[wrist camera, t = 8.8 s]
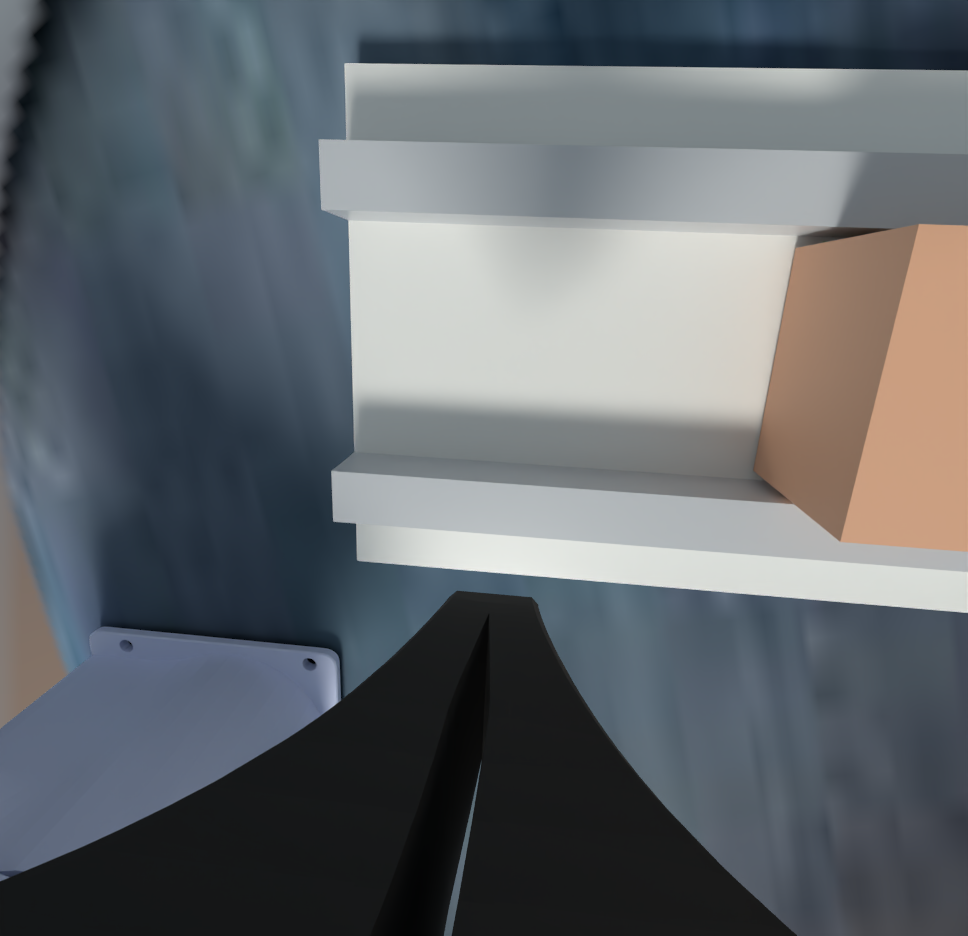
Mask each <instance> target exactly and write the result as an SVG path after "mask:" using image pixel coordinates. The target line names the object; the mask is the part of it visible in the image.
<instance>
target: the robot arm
mask: <svg viewBox="0 0 968 936" xmlns="http://www.w3.org/2000/svg"><path fill="white" fill-rule="evenodd" d="M128 641H129V642H131V643H132V645H131V644H130V643H129V642H128ZM89 642H90V648H91V653H92V656H91V657H90V658H88V659H87V660H86V661H85V662H83V663H82V664H81V665H80V666H78V667H77V668H76V669H75V670H73V671H72V672H71V673H70V674H68V675H67V676H66V677H64V678H63V679H62V680H61V681H59V682H58V683H57V684H56V685H54V686H53V687H52V688H51V689H49V690H48V691H47V692H46V693H44V694H43V695H42V696H41V697H39V698H38V699H37V700H36V701H34V702H33V703H32V704H31V705H29V706H28V707H27V708H26V709H24V710H23V711H22V712H21V713H19V714H18V715H17V716H16V717H14V718H13V719H12V720H10V721H9V722H8V723H7V724H5V725H4V726H3V727H2V728H1V729H0V936H444V931H445V925H446V920H447V914H448V909H449V904H450V900H451V895H452V891H453V886H454V882H455V877H456V873H457V868H458V864H459V859H460V855H461V850H462V846H463V841H464V837H465V832H466V828H467V823H468V819H469V814H470V810H471V805H472V801H473V796H474V792H475V787H476V783H477V778H478V773H479V769H480V764H481V770H480V776H479V782H478V788H477V795H476V801H475V807H474V813H473V819H472V825H471V831H470V837H469V842H468V848H467V854H466V860H465V865H464V871H463V877H462V883H461V888H460V894H459V900H458V905H457V910H456V916H455V921H454V926H453V932H452V936H797V935H796V934H795V933H794V932H792V931H791V930H790V929H789V928H788V927H787V926H786V925H785V924H784V923H782V922H781V921H780V920H779V919H778V918H777V917H776V916H775V915H774V914H773V913H772V912H771V911H769V910H768V909H767V908H766V907H765V906H764V905H763V904H762V903H761V902H760V901H759V900H758V899H756V898H755V897H754V896H753V895H752V894H751V893H750V892H749V891H748V890H747V889H746V888H745V887H743V886H742V885H741V884H740V883H739V882H738V881H737V880H736V879H735V878H734V877H733V876H732V875H731V874H730V873H729V872H728V871H726V870H725V869H724V868H723V867H722V866H721V865H720V864H719V863H718V862H717V860H716V859H715V858H714V857H713V856H712V855H711V854H710V853H709V852H708V851H707V850H706V849H705V848H704V847H703V846H702V845H701V844H700V843H699V842H698V841H697V840H696V839H695V838H694V837H693V836H692V834H691V833H690V832H689V831H688V830H687V829H686V828H685V827H684V826H683V825H682V824H681V823H680V822H679V821H678V820H677V819H676V818H675V817H674V816H673V815H672V814H671V813H670V812H669V811H668V809H667V808H666V807H665V806H664V805H663V804H662V803H661V801H660V800H659V799H658V798H657V797H656V796H655V794H654V793H653V792H652V791H651V790H650V788H649V787H648V786H647V785H646V784H645V783H644V781H643V780H642V779H641V778H640V777H639V775H638V774H637V773H636V772H635V770H634V769H633V768H632V767H631V765H630V764H629V763H628V762H627V760H626V759H625V758H624V756H623V755H622V754H621V753H620V751H619V750H618V749H617V747H616V746H615V745H614V743H613V742H612V741H611V739H610V738H609V736H608V735H607V734H606V732H605V731H604V729H603V728H602V726H601V725H600V724H599V722H598V721H597V719H596V718H595V716H594V715H593V713H592V712H591V710H590V708H589V707H588V705H587V704H586V702H585V701H584V699H583V698H582V696H581V694H580V693H579V691H578V689H577V688H576V686H575V685H574V683H573V681H572V679H571V677H570V676H569V674H568V672H567V670H566V668H565V667H564V665H563V663H562V661H561V659H560V658H559V656H558V654H557V652H556V650H555V648H554V646H553V644H552V641H551V639H550V637H549V635H548V633H547V630H546V628H545V626H544V623H543V621H542V618H541V615H540V612H539V608H538V604H537V603H536V602H535V601H534V600H533V598H532V597H521V596H510V595H499V594H487V593H476V592H464V591H456V592H455V593H454V594H453V595H451V596H450V597H449V598H448V599H447V601H446V602H445V603H444V604H443V605H442V606H441V607H440V609H439V610H438V611H437V612H436V613H435V614H434V615H433V616H432V617H431V618H430V619H429V621H428V622H427V623H426V624H425V625H424V626H423V627H422V628H421V629H420V630H419V631H418V632H417V633H416V634H415V635H414V636H413V637H412V638H411V639H410V640H409V641H408V642H407V643H406V644H405V645H404V646H403V647H402V648H401V649H400V650H399V651H398V652H397V653H396V654H395V655H394V656H392V657H391V658H390V659H389V660H388V661H387V662H386V663H385V664H384V665H382V666H381V667H380V668H379V669H378V670H377V671H375V672H374V673H373V674H372V675H371V676H370V677H368V678H367V679H366V680H365V681H364V682H363V683H361V684H360V685H359V686H358V687H357V688H356V689H354V690H353V691H352V692H351V693H350V694H348V695H347V696H346V697H345V698H343V699H342V700H341V686H340V661H339V657H338V655H337V654H336V653H335V652H334V651H332V650H331V649H327V648H319V647H309V646H299V645H288V644H278V643H268V642H258V641H248V640H238V639H227V638H217V637H207V636H197V635H187V634H177V633H166V632H156V631H146V630H136V629H126V628H115V627H100V628H99V629H97V630H96V631H94V632H93V633H92V634H91V635H90V637H89ZM307 658H310V659H313V660H314V661H315V662H316V664H312V663H310V662H309V661H308V660H307ZM481 759H482V762H481Z"/></svg>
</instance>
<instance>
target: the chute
mask: <svg viewBox="0 0 968 936" xmlns="http://www.w3.org/2000/svg"><path fill="white" fill-rule="evenodd" d="M345 101H346V140H322V139H319V160H320V186H321V210H324V211H326V212H329V213H331V214H334V215H336V216H339V217H341V218H344V219H346V220H349V260H350V299H351V339H352V379H353V418H354V453H353V454H351V455H350V456H349V457H348V458H347V459H345V460H344V461H343V462H342V463H340V464H339V465H338V466H337V467H336V468H334V469H333V470H332V471H331V476H332V502H333V522H344V523H356V538H357V561H365V562H376V563H388V564H400V565H412V566H424V567H435V568H447V569H459V570H471V571H482V572H494V573H506V574H518V575H529V576H541V577H553V578H565V579H577V580H588V581H600V582H612V583H624V584H635V585H647V586H659V587H671V588H683V589H694V590H706V591H718V592H730V593H741V594H753V595H765V596H777V597H789V598H800V599H812V600H824V601H836V602H847V603H859V604H871V605H883V606H894V607H906V608H918V609H930V610H942V611H953V612H965V613H968V552H963V551H950V550H937V549H924V548H911V547H898V546H885V545H872V544H859V543H846V542H840V541H838V540H837V539H836V538H835V537H833V536H832V535H831V534H830V533H829V532H827V531H826V530H825V529H824V528H823V527H821V526H820V525H819V524H818V523H816V522H815V521H814V520H813V519H812V518H810V517H809V516H808V515H807V514H805V513H804V512H803V511H802V510H801V509H799V508H798V507H797V506H796V505H795V504H793V503H792V502H791V501H790V500H788V499H787V498H786V497H785V496H784V495H782V494H781V493H780V492H779V491H777V490H776V489H775V488H774V487H773V486H771V485H770V484H769V483H768V482H766V481H765V480H764V479H763V478H762V477H760V476H759V475H758V474H757V473H756V472H754V471H753V469H754V464H755V458H756V453H757V448H758V443H759V437H760V432H761V427H762V422H763V416H764V411H765V406H766V401H767V395H768V390H769V385H770V380H771V375H772V369H773V364H774V359H775V354H776V348H777V343H778V338H779V333H780V327H781V322H782V317H783V312H784V306H785V301H786V296H787V291H788V286H789V280H790V275H791V270H792V265H793V259H794V254H795V249H796V248H799V247H804V246H809V245H814V244H819V243H824V242H829V241H835V240H840V239H845V238H850V237H855V236H860V235H865V234H871V233H876V232H881V231H886V230H891V229H896V228H901V227H907V226H912V225H917V224H932V225H963V226H968V71H966V70H880V69H795V68H709V67H623V66H537V65H451V64H365V63H345Z"/></svg>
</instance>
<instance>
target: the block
mask: <svg viewBox="0 0 968 936" xmlns="http://www.w3.org/2000/svg"><path fill="white" fill-rule="evenodd" d="M753 471H754V472H756V473H757V474H758V475H759V476H760V477H762V478H763V479H764V480H765V481H766V482H768V483H769V484H770V485H771V486H773V487H774V488H775V489H776V490H777V491H779V492H780V493H781V494H782V495H784V496H785V497H786V498H787V499H788V500H790V501H791V502H792V503H793V504H795V505H796V506H797V507H798V508H799V509H801V510H802V511H803V512H804V513H805V514H807V515H808V516H809V517H810V518H812V519H813V520H814V521H815V522H816V523H818V524H819V525H820V526H821V527H823V528H824V529H825V530H826V531H827V532H829V533H830V534H831V535H832V536H833V537H835V538H836V539H837V540H838V541H840V542H846V543H859V544H872V545H885V546H898V547H911V548H924V549H937V550H950V551H963V552H968V226H963V225H932V224H917V225H912V226H907V227H901V228H896V229H891V230H886V231H881V232H876V233H871V234H865V235H860V236H855V237H850V238H845V239H840V240H835V241H829V242H824V243H819V244H814V245H809V246H804V247H799V248H796V249H795V254H794V259H793V265H792V270H791V275H790V280H789V286H788V291H787V296H786V301H785V306H784V312H783V317H782V322H781V327H780V333H779V338H778V343H777V348H776V354H775V359H774V364H773V369H772V375H771V380H770V385H769V390H768V395H767V401H766V406H765V411H764V416H763V422H762V427H761V432H760V437H759V443H758V448H757V453H756V458H755V464H754V469H753Z"/></svg>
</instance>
